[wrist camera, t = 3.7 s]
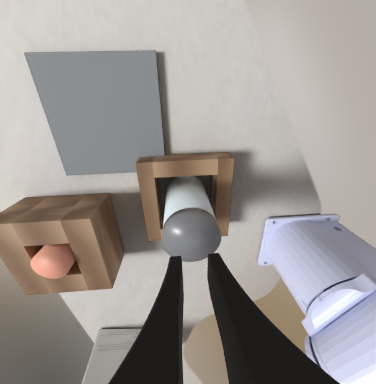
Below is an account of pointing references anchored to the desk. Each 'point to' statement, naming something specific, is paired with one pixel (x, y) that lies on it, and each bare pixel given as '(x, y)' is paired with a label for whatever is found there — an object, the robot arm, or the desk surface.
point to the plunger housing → (62, 241)
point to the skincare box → (108, 354)
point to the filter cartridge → (189, 221)
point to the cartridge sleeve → (185, 166)
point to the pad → (100, 107)
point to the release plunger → (53, 261)
